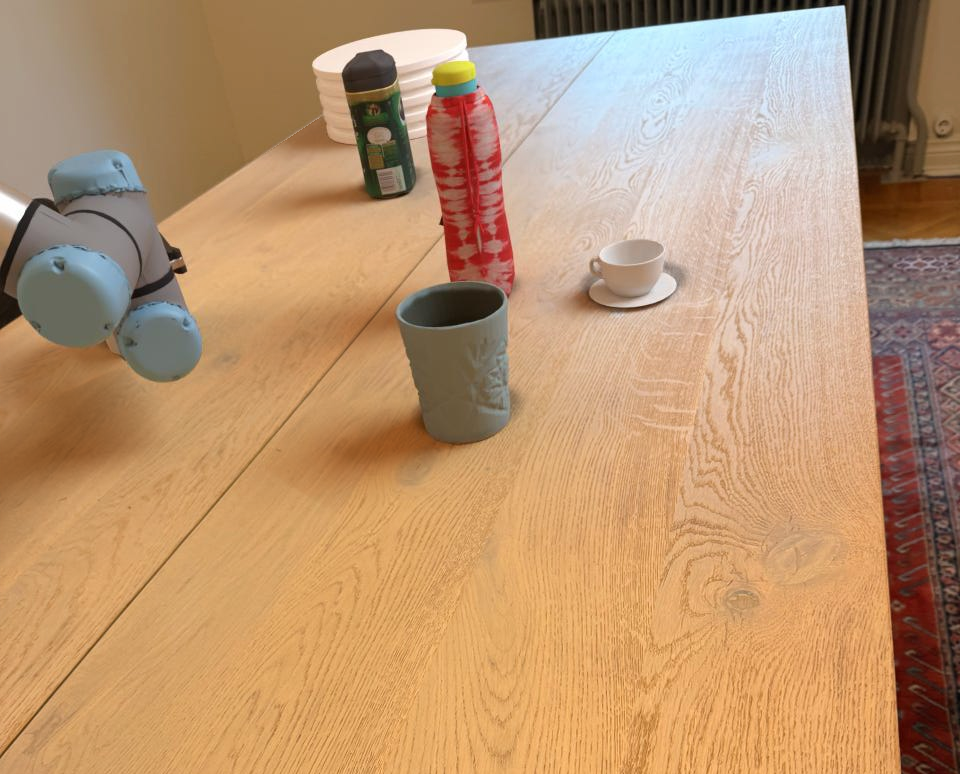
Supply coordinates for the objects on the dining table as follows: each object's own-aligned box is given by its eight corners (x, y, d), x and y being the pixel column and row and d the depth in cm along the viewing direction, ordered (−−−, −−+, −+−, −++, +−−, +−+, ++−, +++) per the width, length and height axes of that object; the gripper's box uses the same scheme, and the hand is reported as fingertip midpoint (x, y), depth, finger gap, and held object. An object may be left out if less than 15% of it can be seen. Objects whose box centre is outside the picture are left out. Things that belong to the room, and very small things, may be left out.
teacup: (686, 275, 110) (687, 235, 106) (661, 314, 103) (661, 272, 100) (605, 272, 114) (603, 232, 110) (576, 308, 107) (573, 268, 104)
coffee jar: (371, 182, 151) (343, 50, 139) (419, 175, 150) (395, 42, 138) (363, 203, 144) (334, 66, 132) (414, 196, 143) (389, 57, 131)
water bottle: (448, 281, 118) (410, 54, 101) (511, 270, 118) (483, 41, 101) (454, 321, 109) (414, 80, 92) (522, 310, 109) (494, 66, 92)
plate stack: (302, 148, 171) (285, 77, 163) (363, 101, 189) (350, 35, 182) (445, 141, 162) (433, 65, 154) (494, 92, 180) (486, 23, 173)
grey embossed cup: (399, 425, 94) (374, 310, 86) (476, 383, 98) (458, 270, 90) (463, 459, 88) (441, 339, 80) (542, 413, 92) (529, 294, 84)
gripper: (70, 357, 99) (46, 288, 115) (227, 306, 103) (182, 246, 119) (37, 288, 94) (17, 226, 110) (203, 237, 98) (160, 184, 114)
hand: (103, 237), depth 115 cm, fingers closed on sprinkles bottle, 4 cm apart
